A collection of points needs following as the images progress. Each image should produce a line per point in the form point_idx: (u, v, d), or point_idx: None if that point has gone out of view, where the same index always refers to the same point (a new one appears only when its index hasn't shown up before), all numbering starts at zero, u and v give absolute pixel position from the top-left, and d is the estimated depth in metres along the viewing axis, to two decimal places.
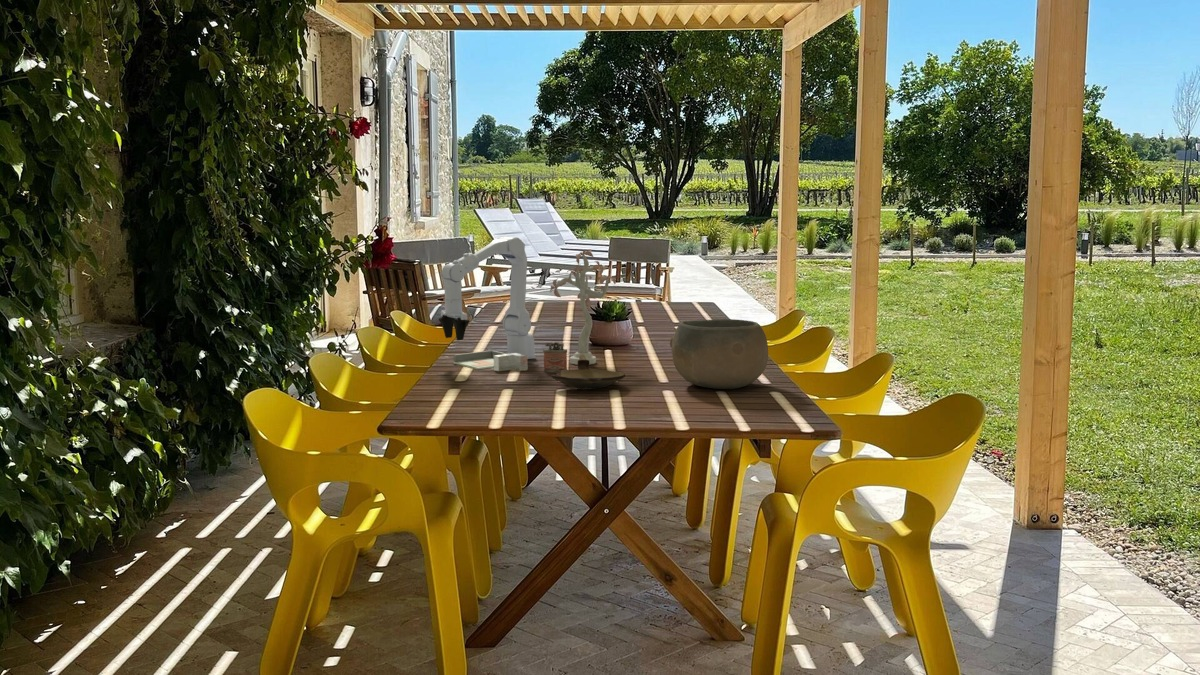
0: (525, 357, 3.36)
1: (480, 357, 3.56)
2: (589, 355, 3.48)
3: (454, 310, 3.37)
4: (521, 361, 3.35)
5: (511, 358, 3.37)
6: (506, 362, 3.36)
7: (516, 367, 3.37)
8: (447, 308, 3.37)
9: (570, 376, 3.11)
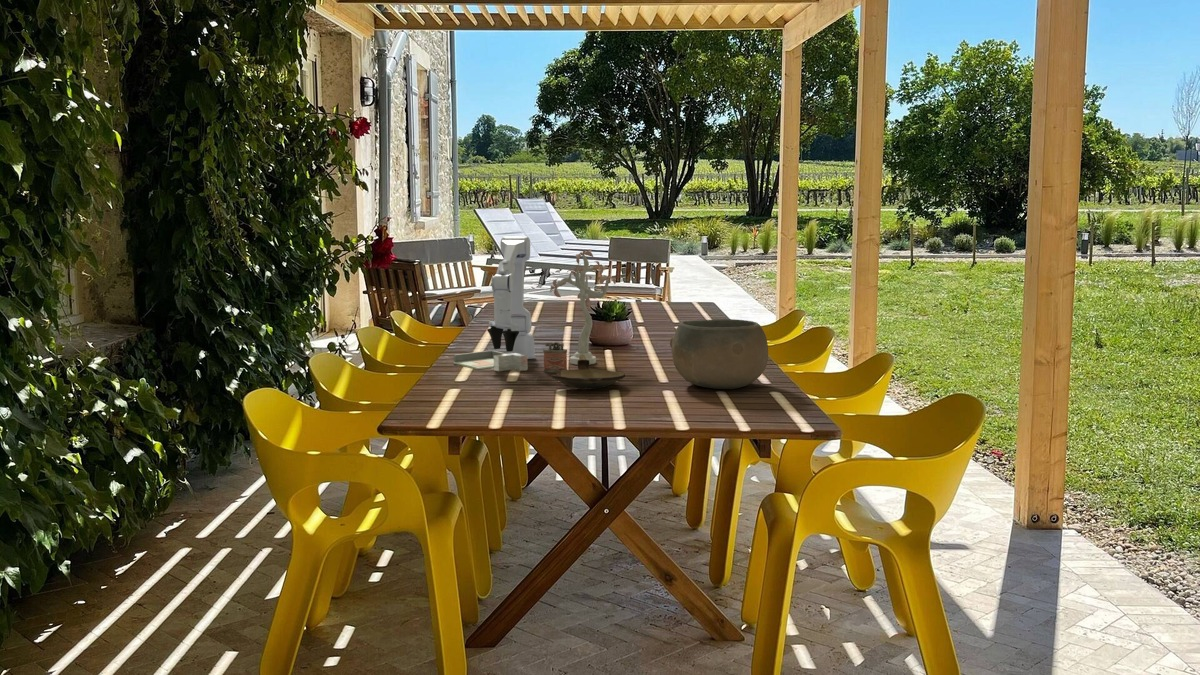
0: (525, 357, 3.36)
1: (480, 357, 3.56)
2: (589, 355, 3.48)
3: (504, 321, 3.32)
4: (521, 361, 3.35)
5: (511, 358, 3.37)
6: (506, 362, 3.36)
7: (516, 367, 3.37)
8: (497, 319, 3.33)
9: (570, 376, 3.11)
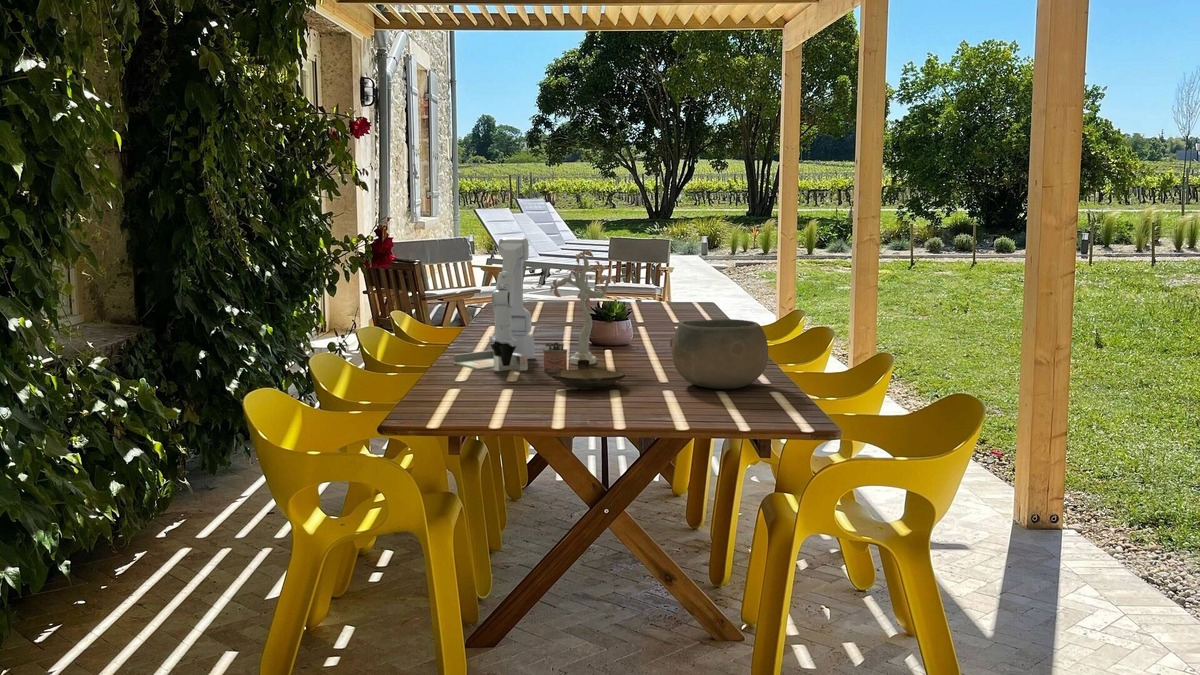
0: (525, 357, 3.36)
1: (480, 357, 3.56)
2: (589, 355, 3.48)
3: (504, 336, 3.33)
4: (521, 361, 3.35)
5: (511, 358, 3.37)
6: None
7: (516, 367, 3.37)
8: (497, 334, 3.34)
9: (570, 376, 3.11)
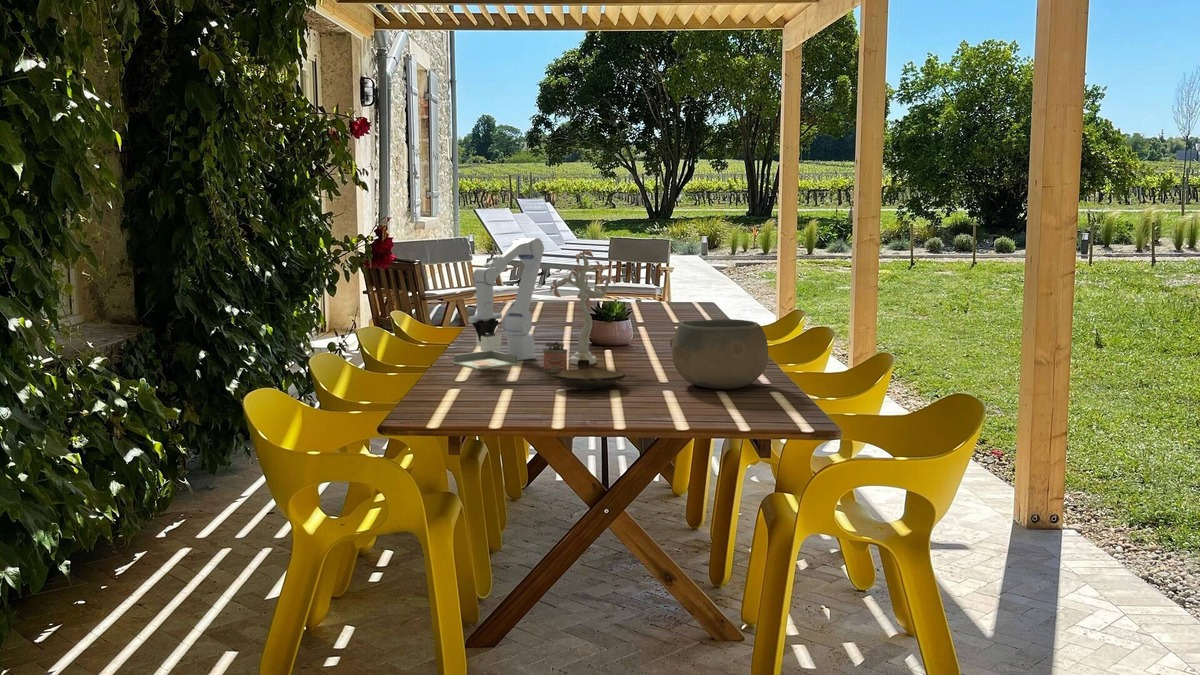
0: (485, 338, 3.38)
1: (480, 357, 3.56)
2: (589, 355, 3.48)
3: (477, 312, 3.43)
4: (482, 341, 3.39)
5: None
6: None
7: None
8: None
9: (570, 376, 3.11)
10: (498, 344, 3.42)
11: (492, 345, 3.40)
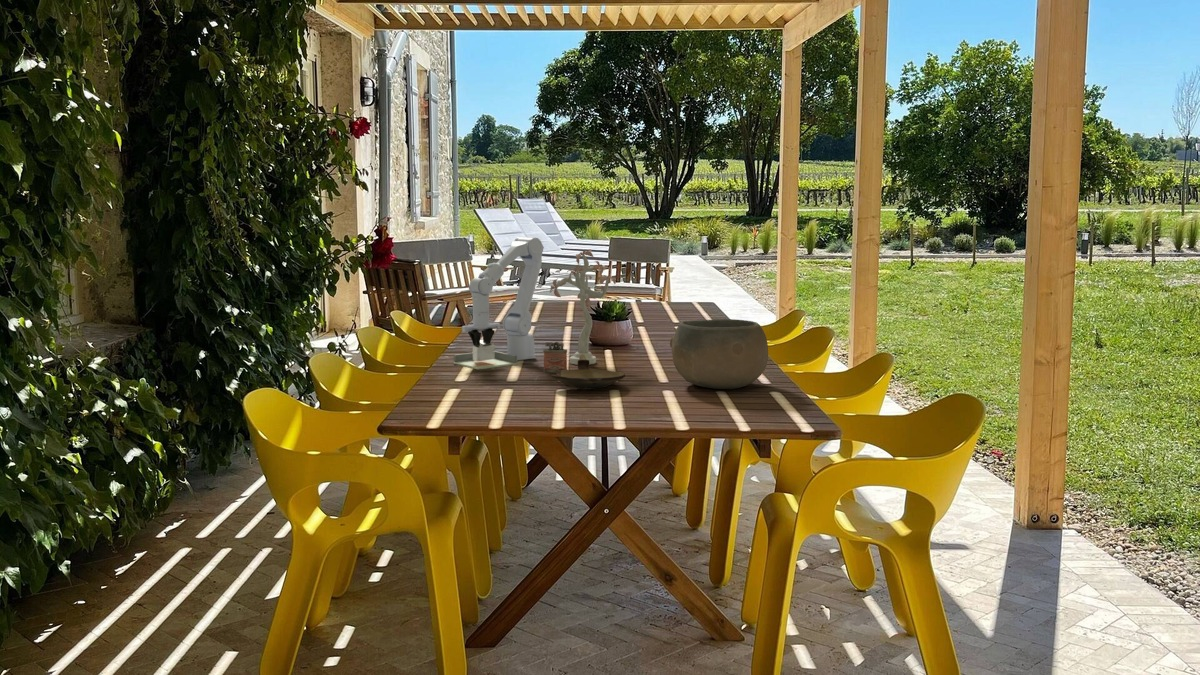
0: (476, 348, 3.41)
1: None
2: (589, 355, 3.48)
3: (473, 322, 3.46)
4: (473, 350, 3.42)
5: None
6: None
7: None
8: None
9: (570, 376, 3.11)
10: (491, 354, 3.44)
11: (483, 355, 3.42)
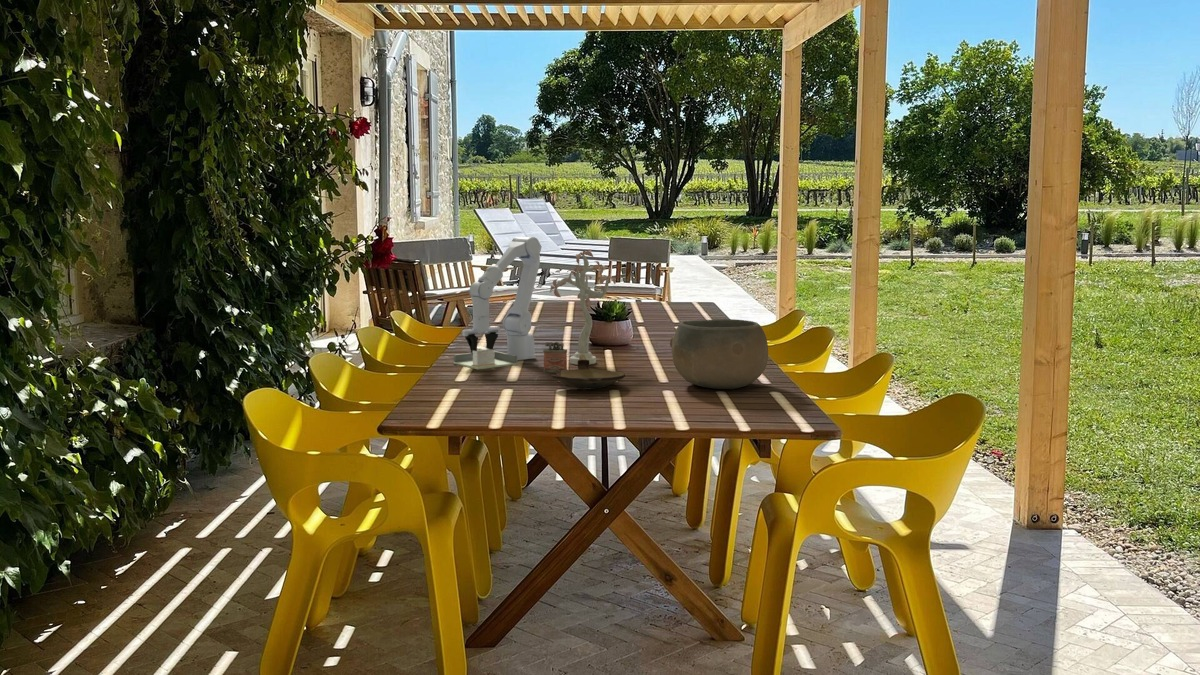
0: (476, 353, 3.41)
1: None
2: (589, 355, 3.48)
3: (473, 326, 3.46)
4: (473, 355, 3.43)
5: None
6: None
7: None
8: None
9: (570, 376, 3.11)
10: (491, 359, 3.44)
11: (483, 360, 3.42)
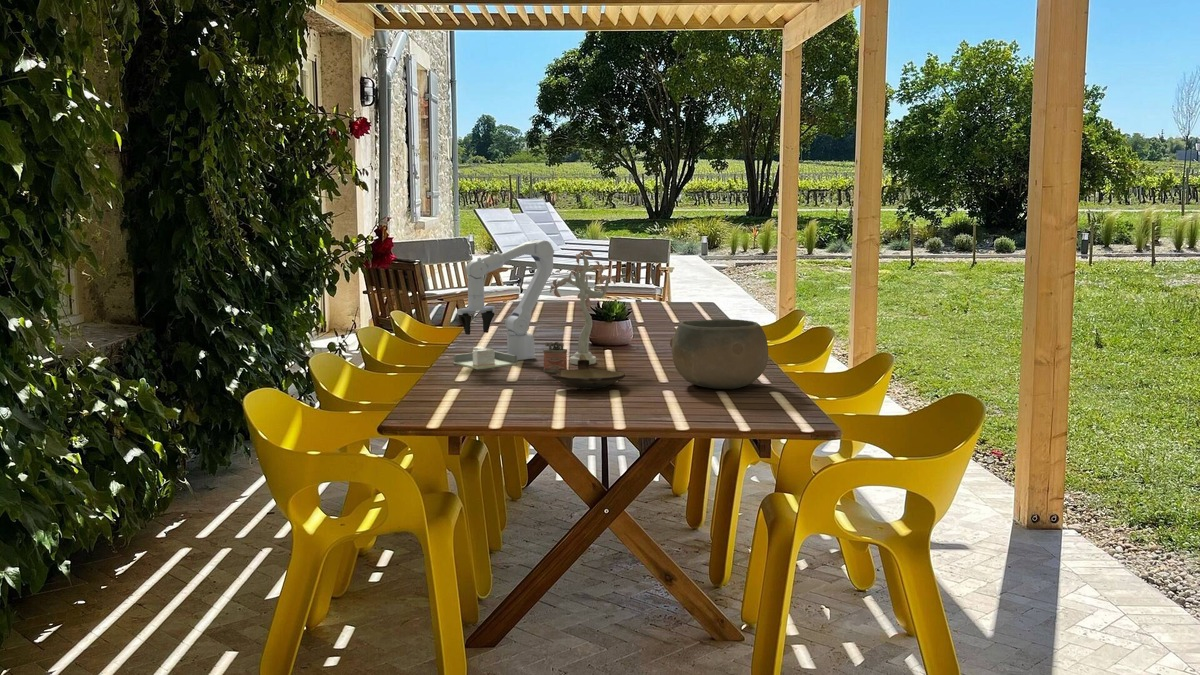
0: (476, 353, 3.41)
1: None
2: (589, 355, 3.48)
3: (468, 305, 3.51)
4: (473, 355, 3.43)
5: None
6: None
7: None
8: None
9: (570, 376, 3.11)
10: (491, 359, 3.44)
11: (483, 360, 3.42)
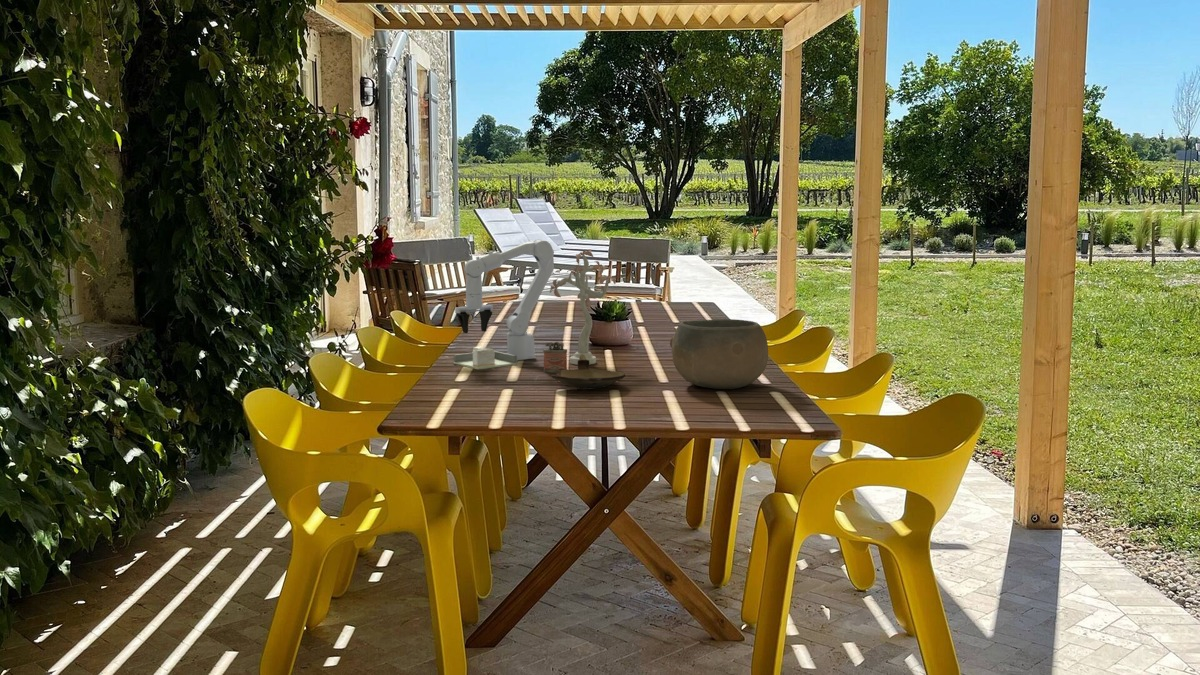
0: (476, 353, 3.41)
1: None
2: (589, 355, 3.48)
3: (466, 303, 3.52)
4: (473, 355, 3.43)
5: None
6: None
7: None
8: None
9: (570, 376, 3.11)
10: (491, 359, 3.44)
11: (483, 360, 3.42)
